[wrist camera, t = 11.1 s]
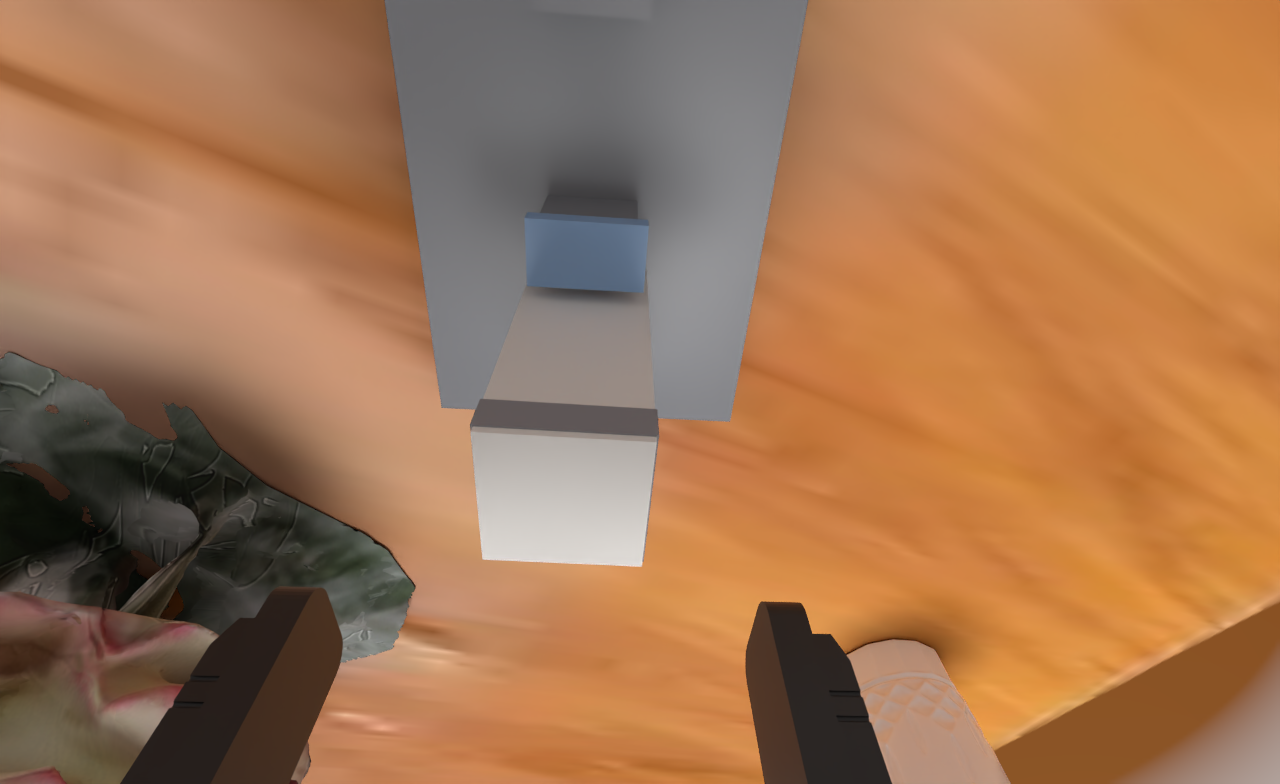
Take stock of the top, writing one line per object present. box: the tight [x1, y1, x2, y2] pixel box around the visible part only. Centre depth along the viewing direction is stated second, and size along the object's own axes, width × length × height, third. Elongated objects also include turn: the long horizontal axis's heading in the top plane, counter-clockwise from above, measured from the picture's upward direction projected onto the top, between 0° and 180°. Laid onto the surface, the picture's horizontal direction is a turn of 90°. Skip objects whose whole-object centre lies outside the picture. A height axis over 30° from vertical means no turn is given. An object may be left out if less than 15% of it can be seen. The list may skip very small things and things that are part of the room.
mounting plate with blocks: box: [385, 0, 808, 422], centre depth 18 cm, size 23×12×4 cm, turn 176°
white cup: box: [847, 639, 1010, 784], centre depth 33 cm, size 8×8×10 cm
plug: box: [470, 270, 659, 567], centre depth 18 cm, size 4×4×10 cm
